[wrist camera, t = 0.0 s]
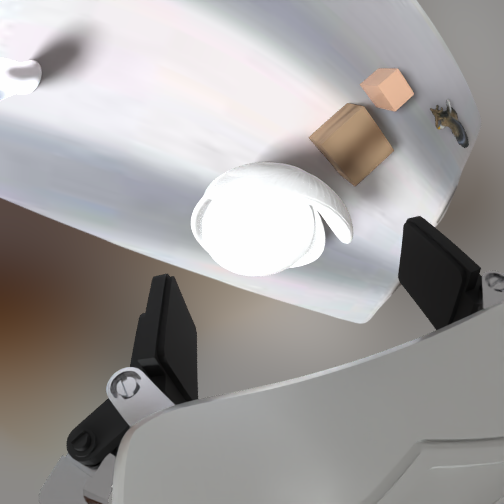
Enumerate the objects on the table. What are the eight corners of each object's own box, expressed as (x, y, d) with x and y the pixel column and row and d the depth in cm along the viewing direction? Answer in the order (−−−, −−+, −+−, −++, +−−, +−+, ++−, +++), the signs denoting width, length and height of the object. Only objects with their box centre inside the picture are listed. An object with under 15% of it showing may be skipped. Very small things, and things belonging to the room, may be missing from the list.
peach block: (359, 84, 41) (377, 85, 36) (378, 68, 39) (397, 68, 34) (376, 107, 43) (395, 111, 38) (394, 91, 42) (414, 94, 37)
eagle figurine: (424, 135, 45) (457, 154, 46) (446, 121, 38) (480, 142, 39) (423, 104, 46) (455, 123, 47) (443, 88, 39) (476, 110, 40)
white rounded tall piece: (50, 61, 31) (-4, 60, 18) (36, 100, 34) (-19, 113, 21) (21, 55, 29) (-34, 56, 16) (8, 93, 32) (-47, 106, 19)
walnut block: (308, 137, 45) (320, 144, 40) (346, 103, 43) (363, 106, 38) (340, 175, 49) (355, 186, 44) (376, 142, 47) (394, 150, 42)
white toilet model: (180, 234, 51) (169, 314, 34) (219, 124, 42) (226, 150, 25) (283, 263, 57) (314, 341, 40) (331, 168, 48) (393, 218, 31)
